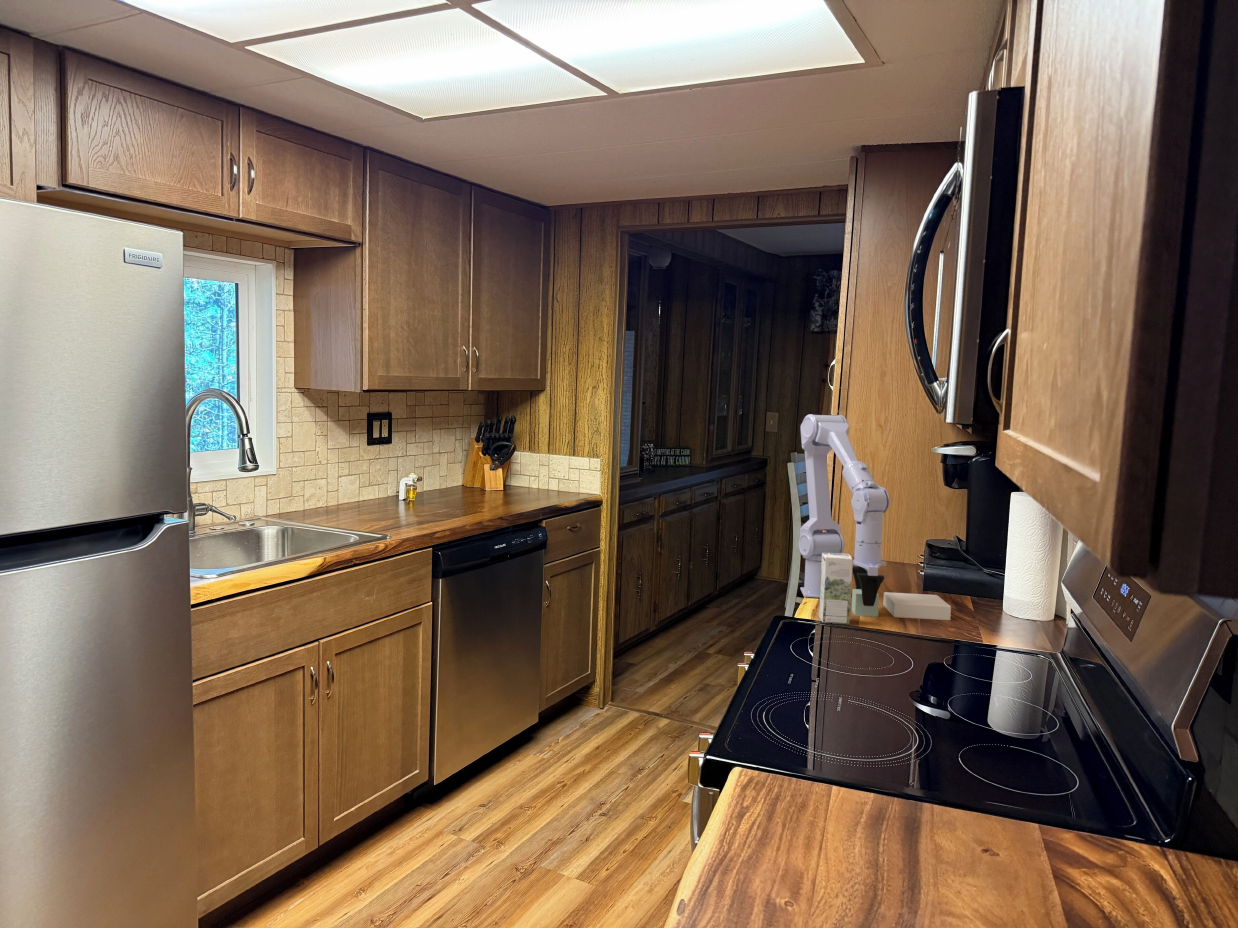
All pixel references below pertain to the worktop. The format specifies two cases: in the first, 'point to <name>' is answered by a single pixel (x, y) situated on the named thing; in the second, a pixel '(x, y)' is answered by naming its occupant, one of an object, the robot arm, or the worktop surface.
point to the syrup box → (835, 588)
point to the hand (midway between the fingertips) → (865, 601)
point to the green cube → (860, 608)
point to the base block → (916, 606)
